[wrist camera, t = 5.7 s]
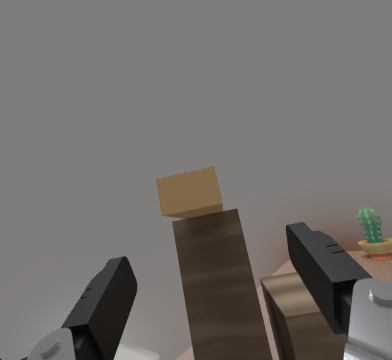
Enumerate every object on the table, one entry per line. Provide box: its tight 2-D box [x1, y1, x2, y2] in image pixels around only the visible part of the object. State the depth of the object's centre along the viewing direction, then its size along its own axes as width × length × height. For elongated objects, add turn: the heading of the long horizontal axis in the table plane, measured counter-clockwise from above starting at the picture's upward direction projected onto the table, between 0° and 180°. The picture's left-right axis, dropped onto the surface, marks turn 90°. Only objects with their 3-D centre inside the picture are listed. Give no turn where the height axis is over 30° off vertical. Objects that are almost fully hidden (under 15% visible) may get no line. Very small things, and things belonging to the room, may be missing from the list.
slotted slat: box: [156, 166, 223, 219], centre depth 25 cm, size 24×4×2 cm, turn 172°
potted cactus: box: [358, 207, 392, 260], centre depth 108 cm, size 15×15×25 cm
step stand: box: [172, 209, 348, 360], centre depth 25 cm, size 14×16×32 cm
